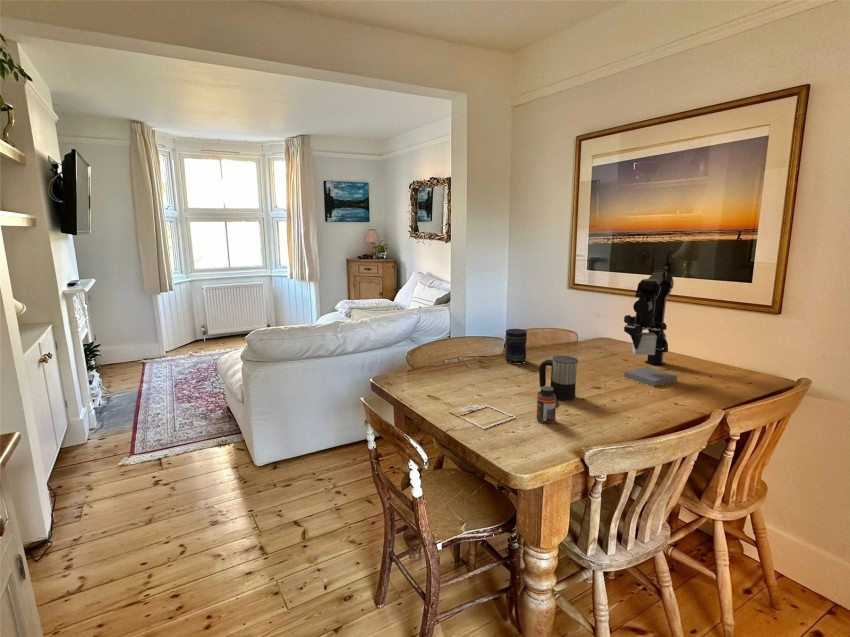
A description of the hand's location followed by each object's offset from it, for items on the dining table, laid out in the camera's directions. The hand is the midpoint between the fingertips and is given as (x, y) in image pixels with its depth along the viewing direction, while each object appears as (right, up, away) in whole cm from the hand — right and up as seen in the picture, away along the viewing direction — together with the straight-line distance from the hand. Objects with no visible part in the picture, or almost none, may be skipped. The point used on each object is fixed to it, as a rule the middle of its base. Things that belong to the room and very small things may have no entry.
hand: (643, 347), depth 189 cm
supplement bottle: (-52, -22, -40) cm, 69 cm away
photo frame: (-72, -21, -35) cm, 83 cm away
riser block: (+2, -14, -1) cm, 14 cm away
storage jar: (-48, -9, +27) cm, 56 cm away
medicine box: (0, -3, 0) cm, 3 cm away
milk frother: (-43, -18, -22) cm, 51 cm away
